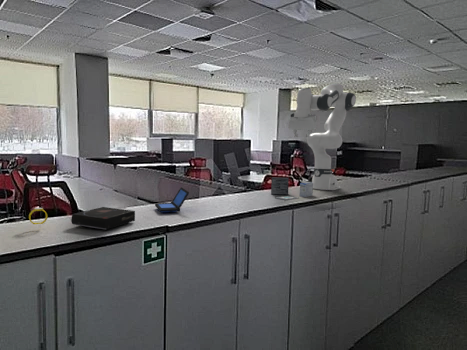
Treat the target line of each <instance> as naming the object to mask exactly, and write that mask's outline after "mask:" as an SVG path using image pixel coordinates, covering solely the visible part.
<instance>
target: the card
mask: <svg viewBox="0 0 467 350" xmlns="http://www.w3.org/2000/svg"><path fill="white" fill-rule="evenodd" d="M274 199H277V200H282V201H288V200H289V201H290V200H296V199H299V197H298V196H292V195H282V196H277V197H276V196H275V198H274Z"/></svg>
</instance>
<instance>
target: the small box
mask: <svg viewBox="0 0 467 350" xmlns="http://www.w3.org/2000/svg"><path fill="white" fill-rule="evenodd" d="M289 181H290V179H289V177H275V176H274V177H272V176H271V185H270V187H271V190H270V195H272V196H289V184H290V183H289Z"/></svg>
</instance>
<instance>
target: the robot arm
mask: <svg viewBox="0 0 467 350" xmlns="http://www.w3.org/2000/svg"><path fill="white" fill-rule="evenodd" d="M356 101H357V97H356V95H355V93H353V92H345V91H344V87H343V85H342V84H341V83H339V82H338V83H337V82H334V83H330V84H328V85H325V86H324V87H323V88H322V89H321V91H320V94H313V93H312V89H311V88H309V87H304V88H299V89H298V90H297V96H296V110H295V111H294V112H292V113H289V119H288V120H289V121H288V129H289V130H290V131H292V132H293V134H294V138H298V137H299V134H298V133H297V132H298V131H305V130H306V131H307V134H306V135H305V138H306V143H307V145H308V146H309V147H310V148H311V150H312V153H313V155H314V168H313V176H312V179H311V182H312V183H313V190H322V191H326V190H327V191H328V190H329V191H335V190H339V189H342V187H341V186H339V184H338V183H339V181H338V179H337V178H336V177H335V176H334V175H333V173H334V172H335V168H334V169H332V157H331V155H329V154H328V153H327V151H326V150H327V149H328V150H335V149H339V148H340V147H341V146H342V144H343V137H342V136H341V134H340V130H341V129H342V126H343V124H344V122H345V119H346V118H347V112H349V111H350V110H351V109H352V108H354V106H355V105H356V103H357V102H356ZM330 108H333V110H332V111H331V113H330V114H329V116H328V118H327V119H326V121H325V123H324V125H323V126H324V128H323V129H324V130H325V132H313V133H312V131H316V130H317V129H318V116H317V115H316V114H315V113H314V114H312V111H328V110H329V109H330Z"/></svg>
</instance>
